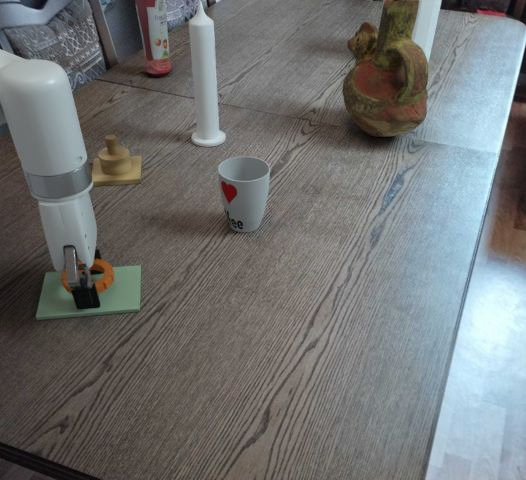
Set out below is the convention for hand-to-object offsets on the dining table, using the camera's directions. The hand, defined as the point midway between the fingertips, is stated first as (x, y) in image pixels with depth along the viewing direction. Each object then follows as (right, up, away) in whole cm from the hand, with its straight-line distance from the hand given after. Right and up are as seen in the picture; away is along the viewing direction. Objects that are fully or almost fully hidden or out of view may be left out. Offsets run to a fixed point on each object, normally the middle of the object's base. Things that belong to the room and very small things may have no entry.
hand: (91, 289), depth 79 cm
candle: (+13, +35, +35) cm, 51 cm away
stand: (-3, +25, +25) cm, 35 cm away
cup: (+22, +12, +13) cm, 28 cm away
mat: (0, -1, +1) cm, 1 cm away
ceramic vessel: (+49, +39, +39) cm, 74 cm away
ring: (0, +1, -1) cm, 2 cm away
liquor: (-1, +61, +60) cm, 86 cm away
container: (+62, +70, +69) cm, 116 cm away
